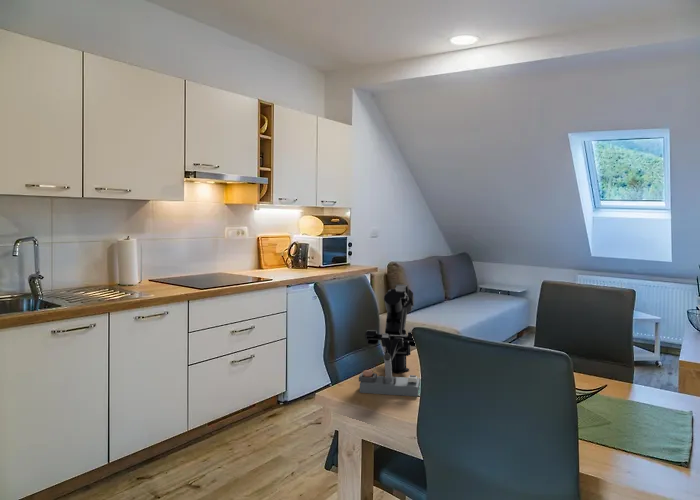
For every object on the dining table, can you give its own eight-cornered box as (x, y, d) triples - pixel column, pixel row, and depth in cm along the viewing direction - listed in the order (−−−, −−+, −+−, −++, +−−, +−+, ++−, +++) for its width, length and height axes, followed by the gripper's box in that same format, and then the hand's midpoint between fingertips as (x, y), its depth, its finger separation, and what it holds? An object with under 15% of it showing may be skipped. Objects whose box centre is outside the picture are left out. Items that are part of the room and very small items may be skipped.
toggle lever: (386, 378, 170) (383, 351, 164) (393, 378, 169) (391, 351, 164) (385, 383, 168) (382, 356, 162) (392, 383, 167) (390, 356, 162)
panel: (362, 383, 178) (362, 369, 177) (419, 387, 173) (419, 373, 173) (357, 392, 169) (357, 378, 168) (417, 396, 165) (417, 381, 164)
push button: (364, 374, 174) (364, 369, 174) (373, 374, 174) (373, 370, 173) (362, 377, 171) (362, 372, 171) (371, 377, 170) (371, 373, 170)
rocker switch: (409, 379, 172) (409, 374, 172) (417, 379, 171) (417, 375, 171) (407, 381, 167) (407, 377, 168) (416, 382, 167) (416, 377, 167)
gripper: (422, 333, 185) (419, 373, 175) (371, 331, 189) (366, 369, 179) (420, 316, 177) (418, 357, 167) (367, 314, 181) (361, 354, 171)
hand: (390, 360), depth 171 cm, fingers closed
